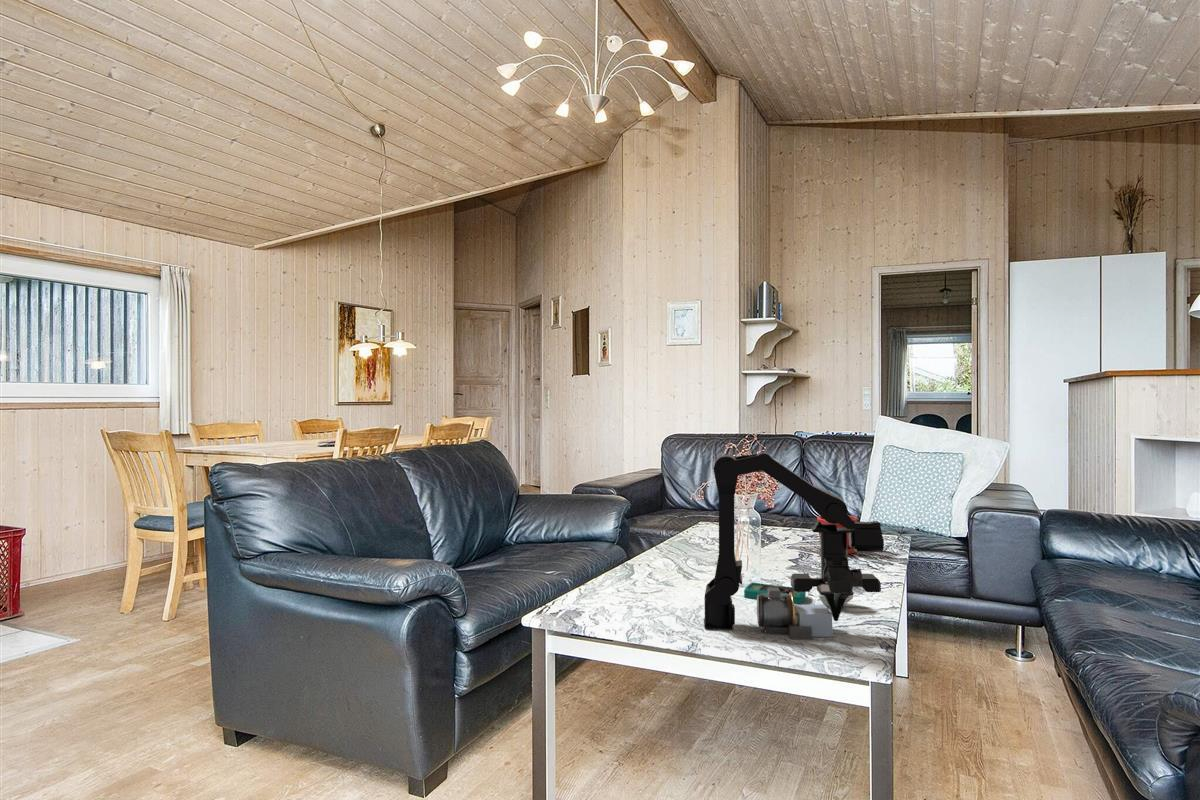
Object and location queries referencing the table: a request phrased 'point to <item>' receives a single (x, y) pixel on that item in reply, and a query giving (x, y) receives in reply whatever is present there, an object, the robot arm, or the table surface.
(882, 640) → the table surface
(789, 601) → the cylinder
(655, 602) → the table surface
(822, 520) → the plant pot
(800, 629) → the clip bracket
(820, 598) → the die
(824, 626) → the blue-gray block
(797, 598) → the digital multimeter
